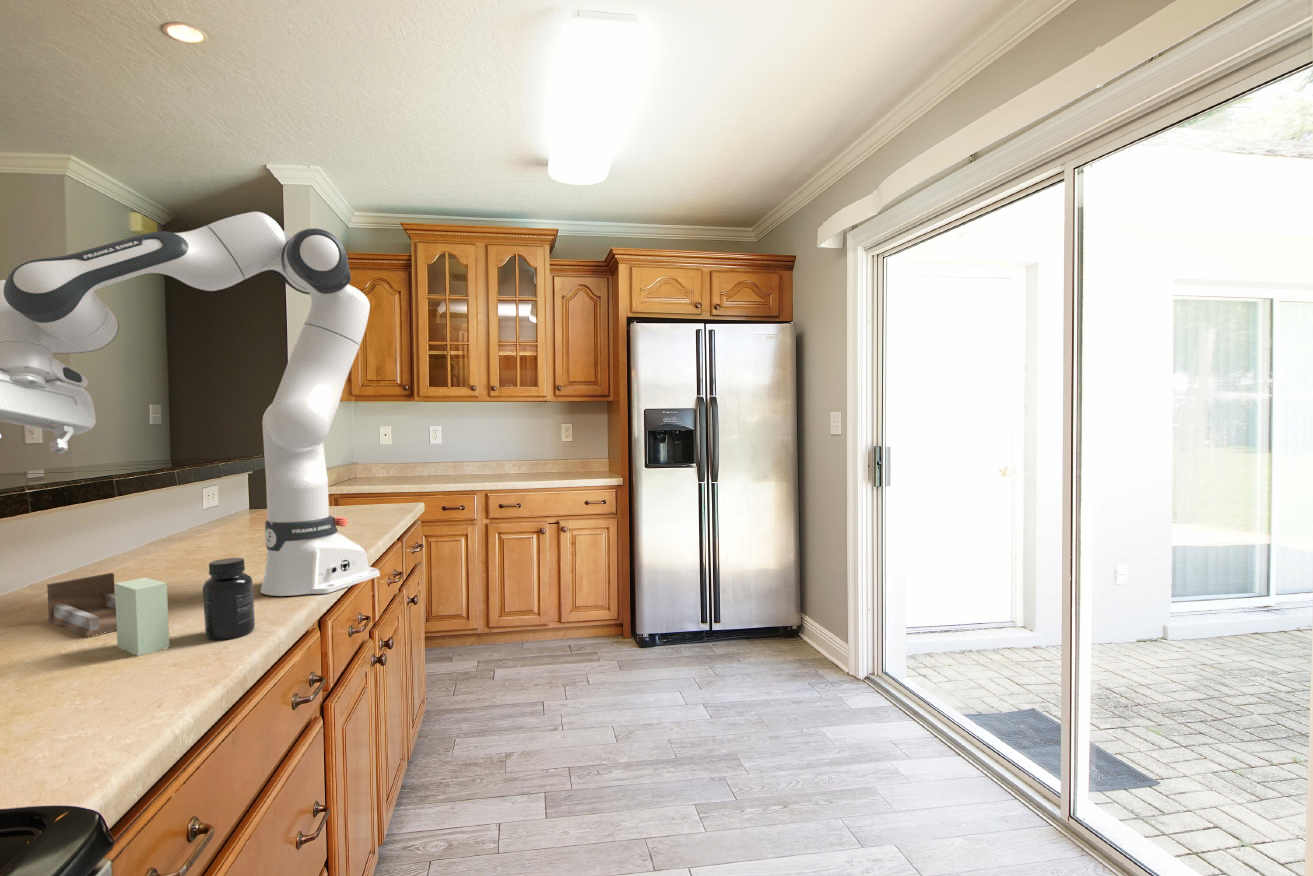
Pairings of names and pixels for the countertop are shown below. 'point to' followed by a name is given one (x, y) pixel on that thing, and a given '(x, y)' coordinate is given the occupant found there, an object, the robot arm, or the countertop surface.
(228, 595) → the supplement bottle
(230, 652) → the countertop surface
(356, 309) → the robot arm
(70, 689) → the countertop surface
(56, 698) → the countertop surface
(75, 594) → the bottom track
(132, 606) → the pale green block
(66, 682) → the countertop surface
